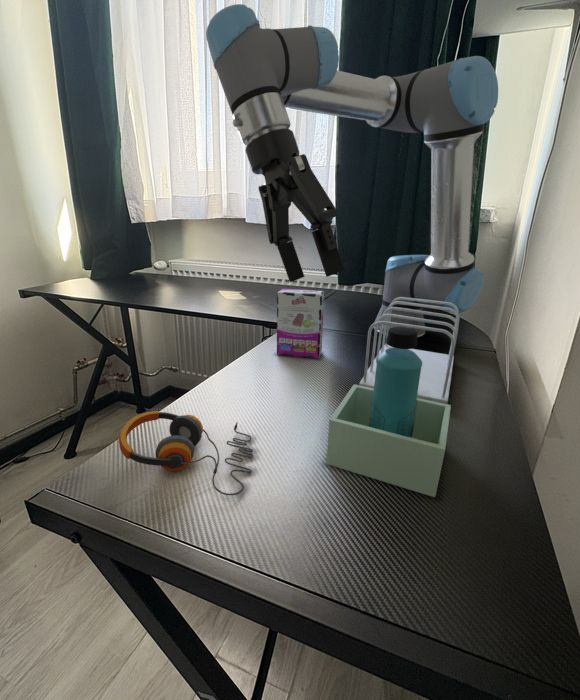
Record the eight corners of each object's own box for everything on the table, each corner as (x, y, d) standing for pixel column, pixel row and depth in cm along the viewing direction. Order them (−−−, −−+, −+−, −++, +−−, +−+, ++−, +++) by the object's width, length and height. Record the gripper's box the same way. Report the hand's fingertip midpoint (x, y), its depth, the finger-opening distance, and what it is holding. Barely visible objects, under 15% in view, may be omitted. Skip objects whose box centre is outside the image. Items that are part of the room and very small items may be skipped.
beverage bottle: (414, 464, 56) (436, 338, 48) (369, 463, 56) (384, 336, 48) (402, 438, 62) (421, 322, 54) (362, 437, 62) (375, 321, 54)
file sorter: (382, 351, 100) (389, 293, 94) (452, 363, 94) (464, 302, 88) (358, 390, 79) (365, 319, 73) (446, 409, 72) (462, 333, 67)
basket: (350, 422, 67) (353, 384, 64) (442, 446, 61) (451, 405, 58) (326, 464, 57) (329, 419, 54) (435, 497, 51) (445, 449, 48)
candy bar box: (321, 352, 98) (325, 290, 92) (319, 359, 94) (323, 294, 88) (280, 348, 100) (281, 287, 94) (275, 355, 96) (276, 291, 90)
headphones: (250, 483, 48) (95, 448, 47) (242, 514, 50) (93, 481, 49) (263, 415, 64) (147, 387, 63) (256, 440, 66) (143, 414, 65)
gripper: (224, 172, 65) (268, 288, 71) (274, 100, 42) (333, 279, 48) (263, 161, 68) (301, 274, 73) (329, 87, 45) (379, 260, 50)
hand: (314, 277), depth 60 cm, fingers open, 13 cm apart
